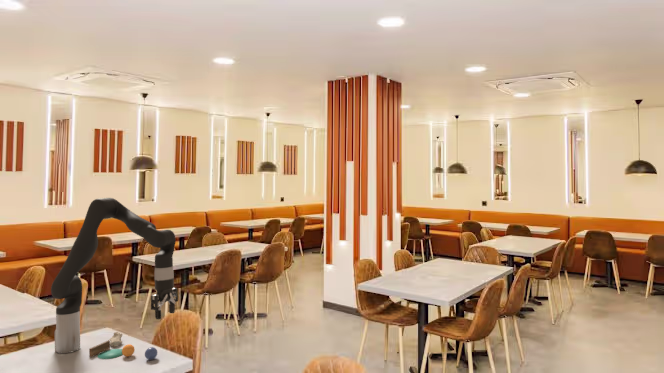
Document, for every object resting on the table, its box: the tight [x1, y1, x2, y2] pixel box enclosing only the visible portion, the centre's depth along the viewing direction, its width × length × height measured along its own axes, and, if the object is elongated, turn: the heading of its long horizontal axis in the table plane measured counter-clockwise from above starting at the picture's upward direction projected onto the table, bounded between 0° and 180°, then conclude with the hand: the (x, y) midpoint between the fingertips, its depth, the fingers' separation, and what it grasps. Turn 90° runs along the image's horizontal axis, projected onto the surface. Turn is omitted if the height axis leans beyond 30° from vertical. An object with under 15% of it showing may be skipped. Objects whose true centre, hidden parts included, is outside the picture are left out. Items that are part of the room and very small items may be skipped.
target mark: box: [97, 348, 124, 360], centre depth 189 cm, size 11×11×1 cm
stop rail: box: [88, 340, 111, 358], centre depth 191 cm, size 1×10×4 cm, turn 163°
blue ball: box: [144, 346, 158, 361], centre depth 183 cm, size 5×5×5 cm
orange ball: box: [121, 343, 136, 358], centre depth 186 cm, size 5×5×5 cm
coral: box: [107, 331, 123, 348], centre depth 202 cm, size 6×10×4 cm, turn 38°
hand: (165, 316), depth 180 cm, fingers open, 8 cm apart
